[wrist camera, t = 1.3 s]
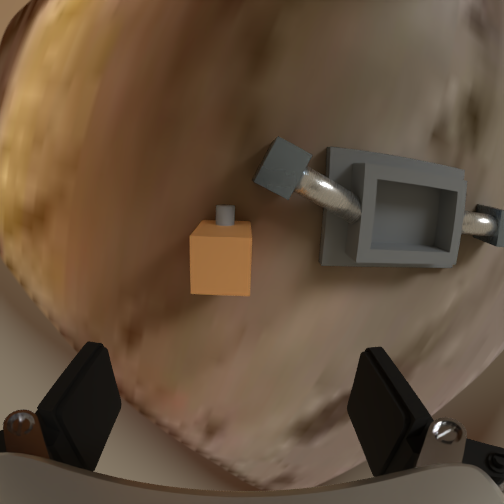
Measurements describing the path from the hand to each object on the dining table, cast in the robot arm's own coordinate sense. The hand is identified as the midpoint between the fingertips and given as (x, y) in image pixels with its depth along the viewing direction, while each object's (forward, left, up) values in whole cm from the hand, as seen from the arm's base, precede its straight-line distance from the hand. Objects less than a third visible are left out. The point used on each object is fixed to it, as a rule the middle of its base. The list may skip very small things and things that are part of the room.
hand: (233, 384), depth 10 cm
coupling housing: (-4, +16, -19) cm, 25 cm away
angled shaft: (-6, +6, -19) cm, 21 cm away
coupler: (0, -1, -19) cm, 19 cm away
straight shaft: (-4, +26, -19) cm, 32 cm away
